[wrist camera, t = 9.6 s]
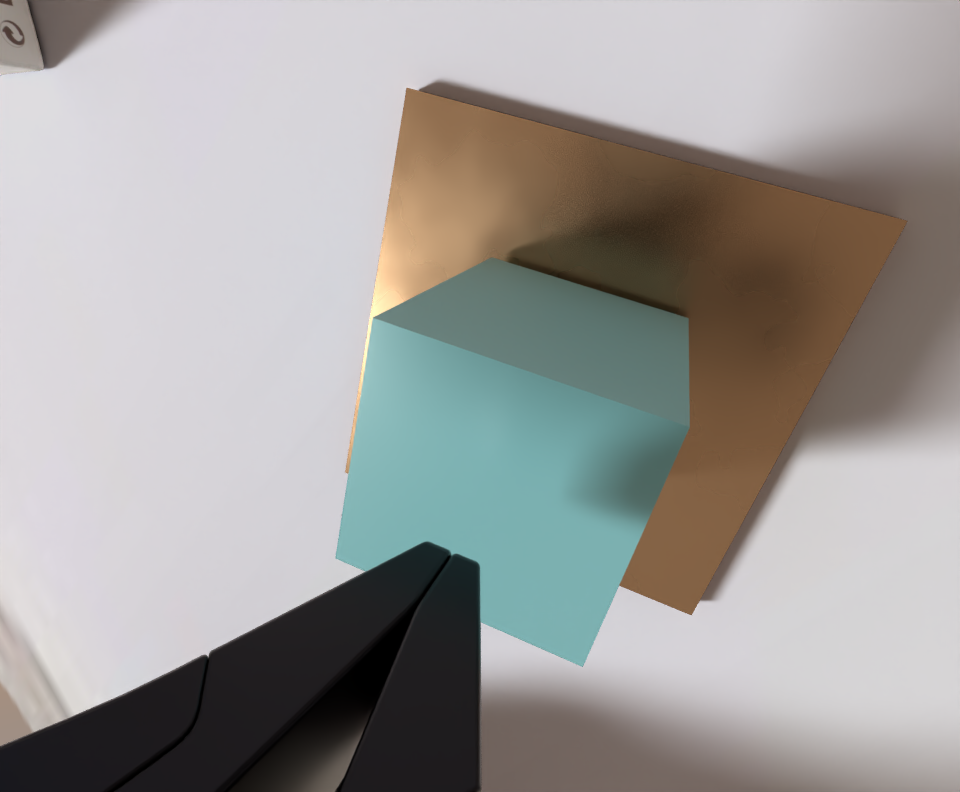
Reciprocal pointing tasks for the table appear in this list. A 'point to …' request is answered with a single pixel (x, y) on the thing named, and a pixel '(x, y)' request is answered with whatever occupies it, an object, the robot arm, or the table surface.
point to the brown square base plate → (647, 288)
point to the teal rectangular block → (518, 442)
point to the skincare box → (18, 39)
